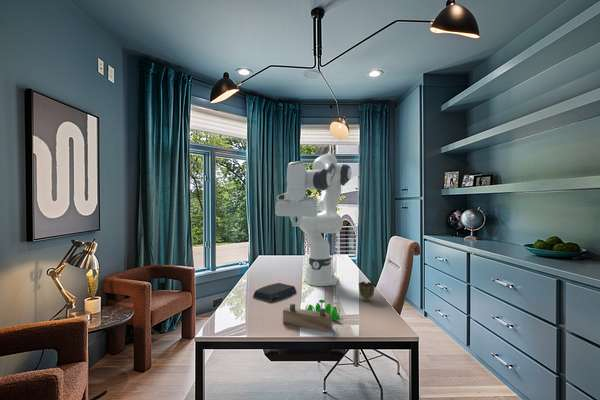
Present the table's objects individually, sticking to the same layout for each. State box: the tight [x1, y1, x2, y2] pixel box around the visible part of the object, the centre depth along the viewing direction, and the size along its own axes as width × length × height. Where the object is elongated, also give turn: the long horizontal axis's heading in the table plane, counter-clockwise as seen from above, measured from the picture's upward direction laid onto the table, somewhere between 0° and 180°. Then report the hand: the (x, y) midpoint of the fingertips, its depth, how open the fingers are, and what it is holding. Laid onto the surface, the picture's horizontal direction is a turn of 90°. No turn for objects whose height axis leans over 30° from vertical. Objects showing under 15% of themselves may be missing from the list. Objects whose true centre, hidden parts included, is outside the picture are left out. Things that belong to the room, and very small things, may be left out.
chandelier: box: [304, 299, 341, 322], centre depth 124 cm, size 15×15×7 cm
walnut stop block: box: [282, 303, 333, 333], centre depth 115 cm, size 4×18×7 cm, turn 66°
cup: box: [358, 281, 376, 302], centre depth 144 cm, size 8×7×8 cm
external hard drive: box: [252, 282, 298, 304], centre depth 152 cm, size 13×19×4 cm
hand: (295, 226), depth 144 cm, fingers closed
